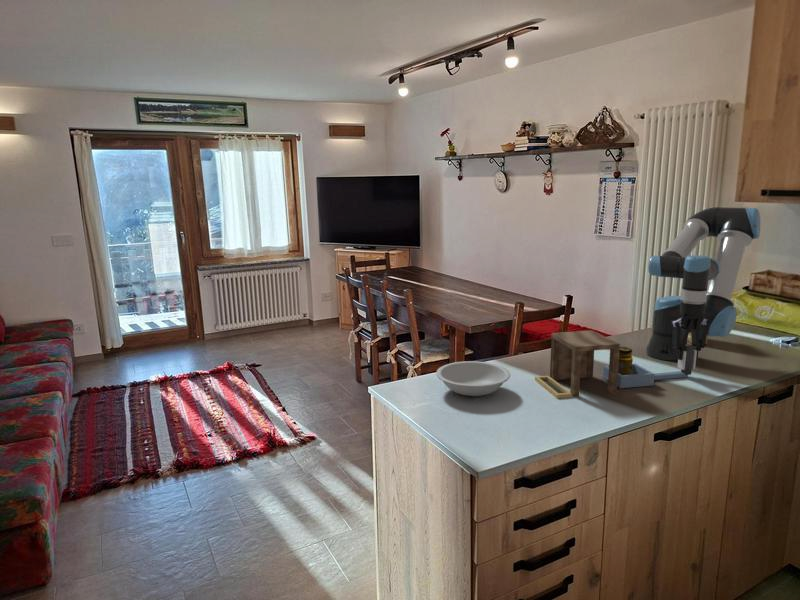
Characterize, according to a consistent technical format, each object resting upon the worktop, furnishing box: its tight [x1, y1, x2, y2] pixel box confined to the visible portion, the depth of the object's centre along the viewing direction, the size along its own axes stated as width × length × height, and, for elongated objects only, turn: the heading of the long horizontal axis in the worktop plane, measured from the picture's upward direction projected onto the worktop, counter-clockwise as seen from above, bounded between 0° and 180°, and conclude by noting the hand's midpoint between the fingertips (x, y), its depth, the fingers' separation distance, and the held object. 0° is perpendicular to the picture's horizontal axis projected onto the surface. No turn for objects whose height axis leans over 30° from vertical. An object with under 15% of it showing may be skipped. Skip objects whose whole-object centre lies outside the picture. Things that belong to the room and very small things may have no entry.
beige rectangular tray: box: [534, 375, 573, 399], centre depth 178 cm, size 5×17×1 cm, turn 10°
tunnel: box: [549, 329, 621, 398], centre depth 179 cm, size 15×17×16 cm
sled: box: [602, 343, 694, 389], centre depth 183 cm, size 30×11×11 cm, turn 100°
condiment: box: [602, 346, 634, 385], centre depth 181 cm, size 7×8×12 cm
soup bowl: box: [435, 360, 511, 397], centre depth 177 cm, size 24×24×7 cm
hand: (686, 367), depth 186 cm, fingers closed on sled, 3 cm apart
